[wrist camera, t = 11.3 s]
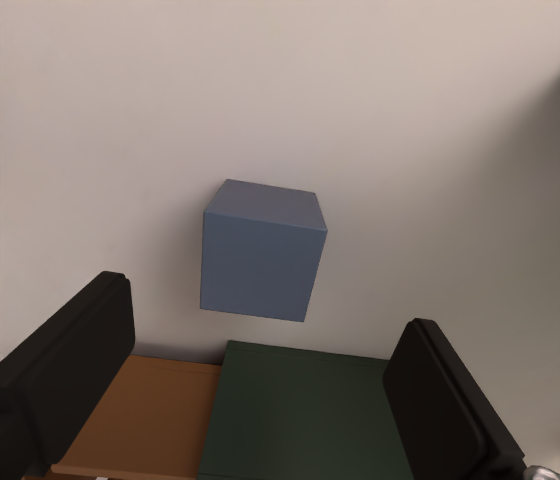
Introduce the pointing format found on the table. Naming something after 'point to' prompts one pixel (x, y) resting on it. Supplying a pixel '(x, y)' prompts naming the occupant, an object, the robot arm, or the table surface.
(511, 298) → the table surface
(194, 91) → the table surface
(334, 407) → the cabinet
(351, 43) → the table surface
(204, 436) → the drawer
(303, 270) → the block
